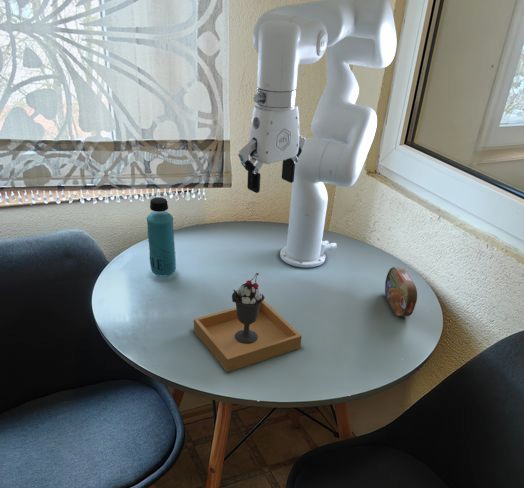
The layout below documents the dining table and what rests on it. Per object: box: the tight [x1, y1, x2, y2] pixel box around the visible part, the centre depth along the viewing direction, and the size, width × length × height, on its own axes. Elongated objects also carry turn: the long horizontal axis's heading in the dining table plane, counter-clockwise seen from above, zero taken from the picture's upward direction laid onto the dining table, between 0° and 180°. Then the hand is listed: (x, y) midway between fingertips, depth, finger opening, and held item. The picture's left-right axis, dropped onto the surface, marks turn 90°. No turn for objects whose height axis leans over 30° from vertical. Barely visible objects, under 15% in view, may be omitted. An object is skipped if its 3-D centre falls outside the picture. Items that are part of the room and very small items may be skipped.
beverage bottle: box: [146, 196, 177, 277], centre depth 125 cm, size 6×7×20 cm
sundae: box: [231, 272, 265, 343], centre depth 106 cm, size 7×7×15 cm
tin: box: [384, 266, 418, 317], centre depth 123 cm, size 15×3×8 cm, turn 5°
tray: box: [193, 299, 303, 373], centre depth 110 cm, size 18×16×3 cm
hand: (270, 185), depth 109 cm, fingers open, 9 cm apart
